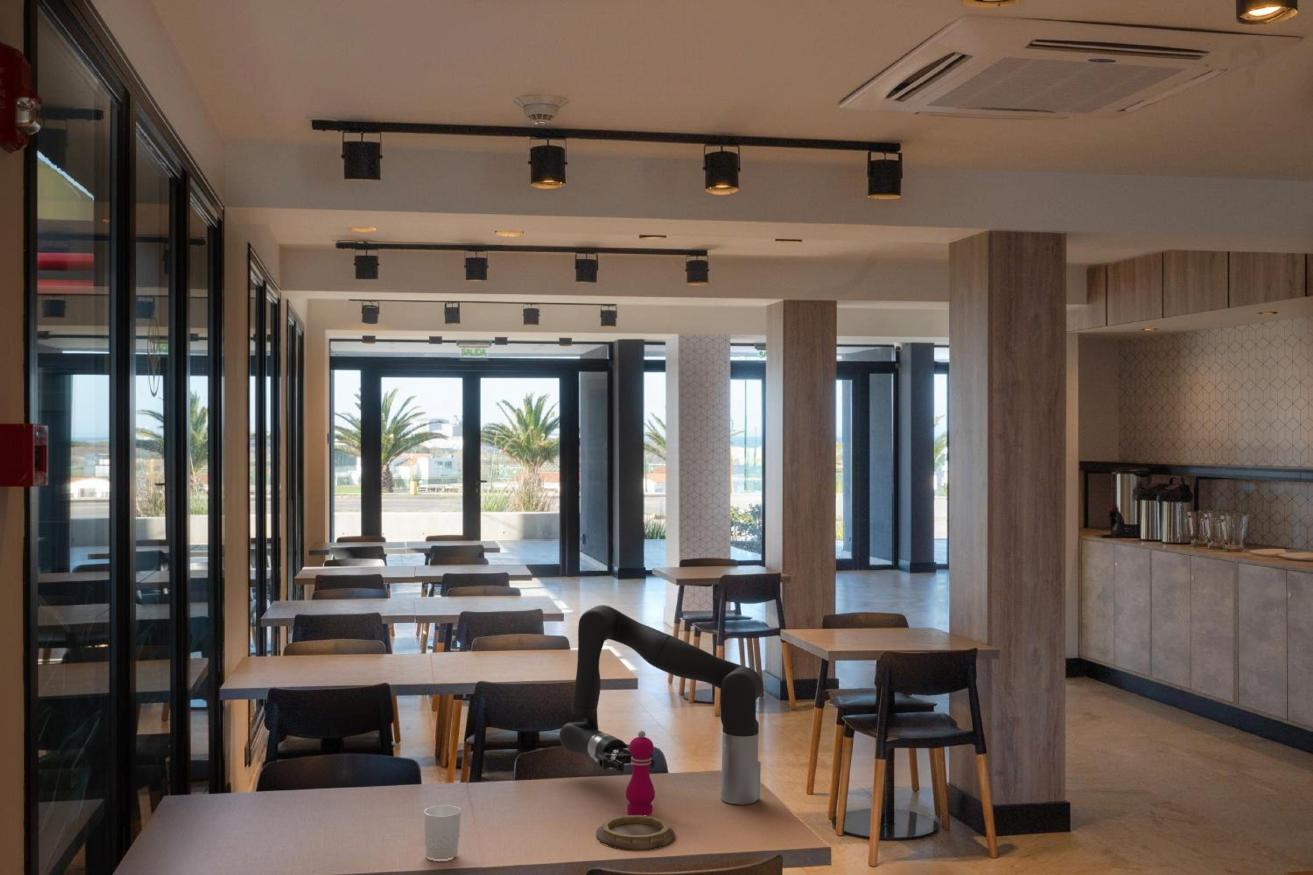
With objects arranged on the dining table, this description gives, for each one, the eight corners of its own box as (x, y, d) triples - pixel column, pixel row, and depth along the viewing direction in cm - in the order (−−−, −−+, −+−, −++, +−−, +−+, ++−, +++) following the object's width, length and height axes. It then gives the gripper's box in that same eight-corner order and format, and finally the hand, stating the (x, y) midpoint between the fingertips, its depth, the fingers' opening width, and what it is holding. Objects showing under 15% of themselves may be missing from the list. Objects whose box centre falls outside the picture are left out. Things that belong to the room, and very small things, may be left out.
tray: (640, 818, 283) (641, 808, 283) (690, 839, 269) (690, 828, 269) (580, 833, 272) (580, 822, 272) (629, 855, 258) (629, 844, 258)
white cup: (425, 850, 258) (426, 804, 258) (461, 849, 259) (462, 804, 259) (421, 863, 251) (422, 816, 251) (458, 862, 251) (459, 816, 251)
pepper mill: (651, 818, 284) (653, 735, 284) (622, 815, 285) (624, 733, 285) (657, 809, 291) (659, 728, 291) (628, 806, 292) (630, 726, 292)
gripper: (583, 738, 300) (612, 753, 286) (631, 732, 307) (663, 747, 293) (582, 767, 300) (611, 784, 286) (631, 761, 307) (662, 777, 293)
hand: (637, 765), depth 290 cm, fingers open, 8 cm apart
